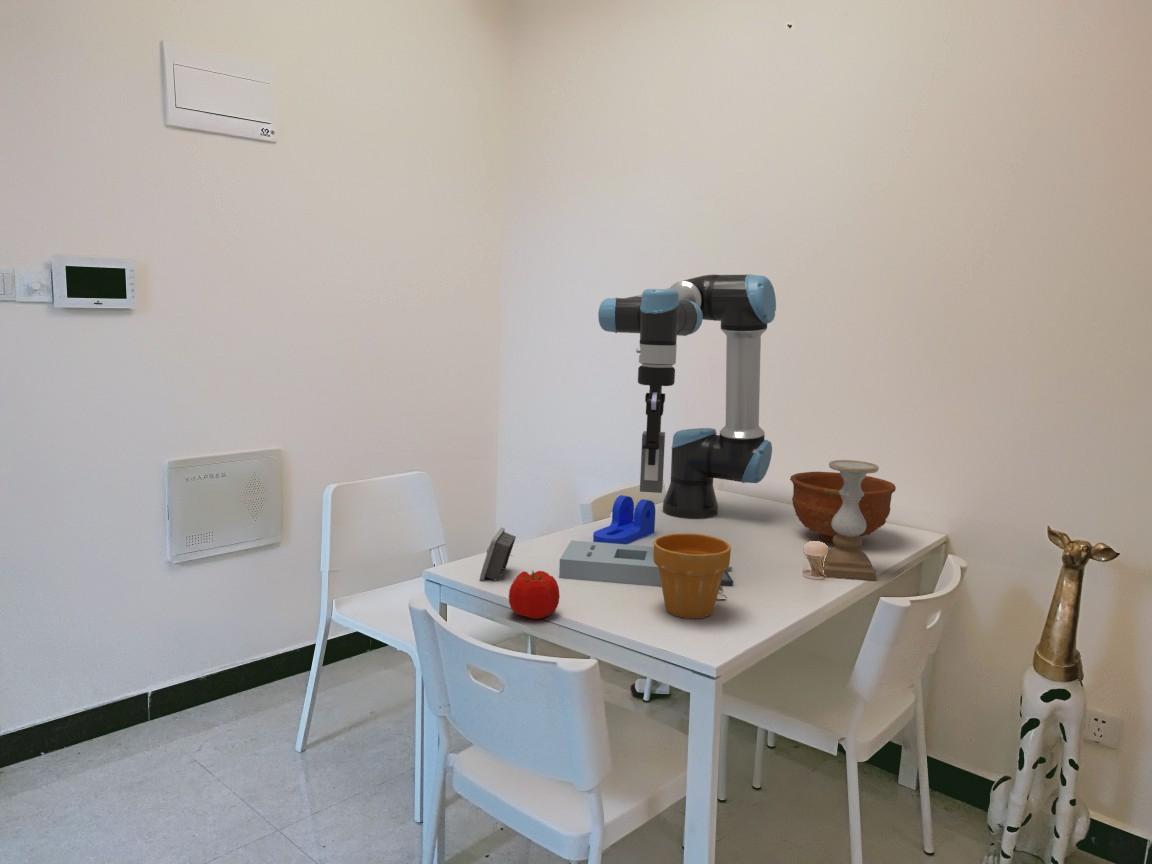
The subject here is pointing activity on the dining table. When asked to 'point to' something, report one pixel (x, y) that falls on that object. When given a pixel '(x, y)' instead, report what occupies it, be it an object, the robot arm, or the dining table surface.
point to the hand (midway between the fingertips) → (651, 477)
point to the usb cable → (729, 569)
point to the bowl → (838, 501)
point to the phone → (726, 579)
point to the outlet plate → (609, 563)
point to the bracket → (628, 522)
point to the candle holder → (849, 525)
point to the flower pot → (691, 572)
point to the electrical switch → (497, 555)
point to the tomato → (534, 594)
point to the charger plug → (658, 485)
